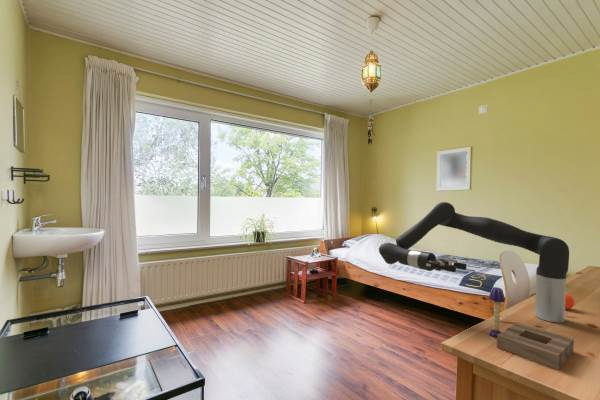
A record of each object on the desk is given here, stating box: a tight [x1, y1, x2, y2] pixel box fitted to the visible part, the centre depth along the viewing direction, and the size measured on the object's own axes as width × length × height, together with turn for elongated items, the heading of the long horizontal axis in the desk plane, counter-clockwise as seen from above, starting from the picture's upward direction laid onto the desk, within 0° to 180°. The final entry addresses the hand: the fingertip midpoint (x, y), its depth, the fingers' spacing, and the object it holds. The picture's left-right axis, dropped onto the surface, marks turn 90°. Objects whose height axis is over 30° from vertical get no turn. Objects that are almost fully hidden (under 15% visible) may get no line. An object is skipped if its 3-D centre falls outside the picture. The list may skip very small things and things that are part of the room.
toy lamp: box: [488, 286, 506, 339], centre depth 102 cm, size 5×5×17 cm
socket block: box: [496, 322, 575, 370], centre depth 93 cm, size 18×15×4 cm
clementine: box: [565, 293, 575, 310], centre depth 133 cm, size 8×7×7 cm
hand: (461, 268), depth 112 cm, fingers open, 8 cm apart
